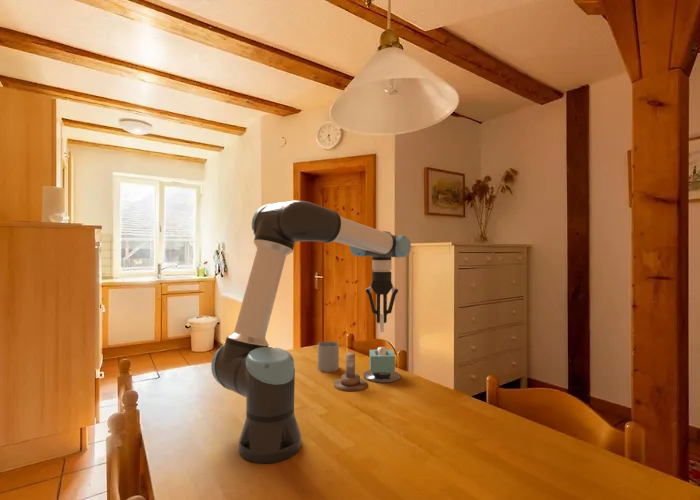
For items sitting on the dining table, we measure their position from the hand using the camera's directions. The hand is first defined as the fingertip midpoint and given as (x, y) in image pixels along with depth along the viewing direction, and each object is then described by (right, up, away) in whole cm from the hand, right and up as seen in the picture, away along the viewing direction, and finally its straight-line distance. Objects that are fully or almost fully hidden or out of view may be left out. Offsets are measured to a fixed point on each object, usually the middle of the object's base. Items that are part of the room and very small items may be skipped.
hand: (381, 331), depth 149 cm
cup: (-21, -17, +6) cm, 28 cm away
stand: (-12, -17, -12) cm, 24 cm away
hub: (0, -17, -3) cm, 17 cm away
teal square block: (0, -14, -3) cm, 14 cm away
